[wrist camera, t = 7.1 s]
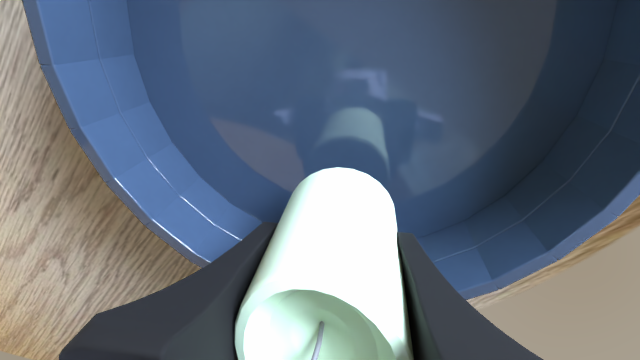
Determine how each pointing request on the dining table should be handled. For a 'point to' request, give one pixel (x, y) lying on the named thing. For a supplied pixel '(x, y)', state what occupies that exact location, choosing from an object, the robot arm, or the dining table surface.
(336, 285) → the candle
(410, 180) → the bowl
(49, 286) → the dining table surface
